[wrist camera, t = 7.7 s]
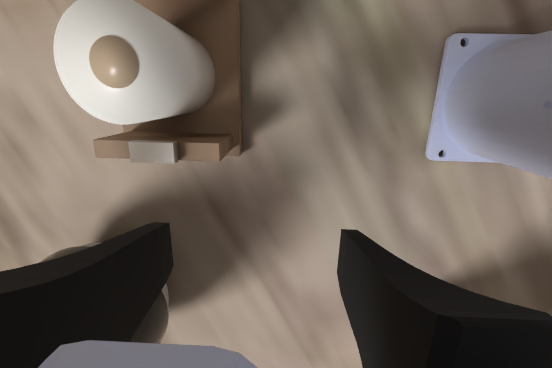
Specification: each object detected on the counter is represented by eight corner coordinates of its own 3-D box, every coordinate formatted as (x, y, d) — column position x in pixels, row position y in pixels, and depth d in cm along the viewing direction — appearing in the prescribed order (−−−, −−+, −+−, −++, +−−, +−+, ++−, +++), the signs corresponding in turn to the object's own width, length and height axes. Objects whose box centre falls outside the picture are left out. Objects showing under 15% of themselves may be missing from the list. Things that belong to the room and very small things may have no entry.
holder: (239, -24, 18) (219, -76, 12) (241, 153, 21) (226, 173, 15) (111, -25, 18) (36, -78, 12) (133, 149, 21) (81, 168, 16)
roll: (210, 28, 18) (163, -13, 11) (219, 112, 19) (182, 121, 12) (131, 34, 18) (36, -4, 11) (146, 116, 19) (70, 127, 12)
